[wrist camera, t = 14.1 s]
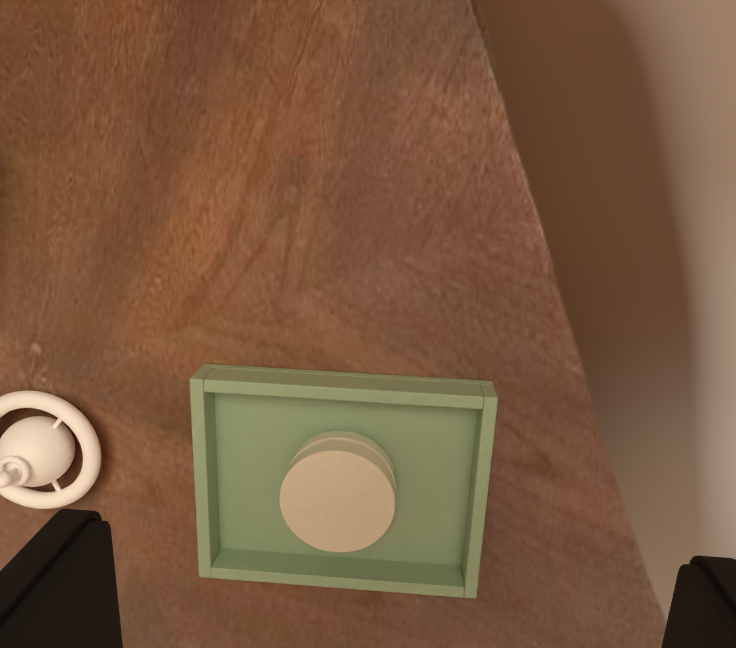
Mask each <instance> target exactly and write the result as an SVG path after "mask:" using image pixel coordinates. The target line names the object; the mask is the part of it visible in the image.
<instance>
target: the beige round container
mask: <svg viewBox="0 0 736 648" xmlns="http://www.w3.org/2000/svg"><path fill="white" fill-rule="evenodd" d="M395 498H396V475H395V470H394V467H393V464H392V462H391V460H390V458H389V457H388V455H387V454H386V453H385V452H384V450H383V449H382V448H381V447H380V446H379V445H377V444H376V443H375V442H373V441H372V440H371V439H369V438H367V437H365V436H363V435H360V434H357V433H353V432H348V431H330V432H325V433H321V434H319V435H316V436H314V437H312V438H310V439H308V440H307V441H306V442H304V443H303V444H302V445H301V446H300V447H299V448H298V449H297V450H296V452H295V453H294V455H293V457H292V458H291V461H290V463H289V466H288V469H287V472H286V474H285V477H284V479H283V482H282V485H281V489H280V496H279V501H280V508H281V512H282V515H283V518H284V520H285V522H286V523H287V525H288V526H289V528H290V529H291V531H292V532H293V533H294V534H295V535H296V536H297V537H299V538H300V539H301V540H302V541H304V542H305V543H307V544H309V545H311V546H313V547H315V548H318V549H320V550H324V551H328V552H339V553H344V552H352V551H357V550H360V549H363V548H365V547H367V546H369V545H371V544H373V543H374V542H376V541H377V540H378V539H379V538H380V537H382V535H383V534H384V533H385V532H386V531H387V529H388V528H389V526H390V524H391V522H392V520H393V516H394V512H395Z"/></svg>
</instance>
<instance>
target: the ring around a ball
mask: <svg viewBox="0 0 736 648" xmlns="http://www.w3.org/2000/svg"><path fill="white" fill-rule="evenodd" d="M19 408H35V409H40V410H43V411H46V412H49V413H51V414H53V415H55V416H56V417H58V419H57V420H56V419H54V418H51V417H46V416H33V417H28V418H25V419H22V420H20V421H18V422H16V423H15V424H13V425H12V426H10V427H9V428H8V429H7V430H6V431H5V432H4V434H3V435H2V437H1V438H0V495H2V496H4V497H5V498H7V499H8V500H11V501H13V502H15V503H17V504H20V505H23V506H26V507H31V508H36V509H51V508H58V507H62V506H66V505H68V504H70V503H73V502H75V501H76V500H78V499H79V498H81V497H82V496H83V495H84V494H86V493H87V492H88V491H89V490H90V488H91V487H92V486H93V484H94V483H95V481H96V479H97V477H98V474H99V470H100V467H101V447H100V443H99V440H98V437H97V435H96V432H95V430H94V428H93V427H92V425H91V424H90V422H89V421H88V419H87V418H86V417H85V416H84V415H83V414H82V413H81V412H80V411H79V410H78V409H77V408H76V407H74V406H73V405H71V404H70V403H69V402H67V401H65V400H63V399H61V398H59V397H57V396H54V395H52V394H49V393H45V392H40V391H28V390H26V391H16V392H12V393H8V394H5V395H3V396H1V397H0V418H1V417H2V416H3V415H4V414H6V413H7V412H9V411H12V410H15V409H19ZM62 421H63V422H64V423H66V424H67V425H68V426H69V427H70V429H71V430H72V431H73V432H74V434H75V435H76V437H77V438H78V441H79V443H80V445H81V449H82V453H83V465H82V469H81V472H80V474H79V476H78V477H77V479H76V480H75V481H74V482H73V483H72V484H71V485H69V486H68V487H66V488H64V489H62V490H61V488H60V486H59V484H58V483H57V481H56V479H58V478H59V477H61V476H62V475H63V474H64V473H65V472H66V471H67V469H68V468H69V467H70V465H71V463H72V461H73V458H74V455H75V441H74V438H73V435H72V433H71V432H70V430H69V429H68V428H67V427H66V426H65V425H64V424H63V423H62ZM49 483H52V484H53V486H54V488H55V490H56V491H53V492H40V491H35V490H31V489H28V488H26V487H37V486H43V485H46V484H49ZM24 486H26V487H24Z"/></svg>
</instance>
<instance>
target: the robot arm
mask: <svg viewBox="0 0 736 648" xmlns="http://www.w3.org/2000/svg"><path fill="white" fill-rule="evenodd" d="M0 648H123V644H122V635H121V625H120V615H119V605H118V595H117V586H116V576H115V566H114V556H113V546H112V536H111V528H110V524H109V523H108V522H107V521H102V519H101V516H100V514H99V513H98V512H96V511H87V510H74V509H62V510H60V511H58V512H57V513H56V514H55V515H54V516H53V517H52V518H51V519H50V520H49V521H48V522H47V523H46V524H45V525H44V526H43V527H42V528H41V529H40V531H39V532H38V533H37V534H36V535H35V536H34V537H33V538H32V539H31V540H30V541H29V542H28V543H27V544H26V545H25V546H24V547H23V548H22V549H21V550H20V551H19V552H18V553H17V554H16V556H15V557H14V558H13V559H12V560H11V561H10V562H9V563H8V564H7V565H6V566H5V567H4V568H3V569H2V570H1V571H0ZM661 648H736V560H735V559H732V558H723V557H709V556H694V557H693V558H692V559H691V560H690V563H689V565H688V564H684V565H682V566H681V567H680V568H679V571H678V575H677V580H676V584H675V589H674V593H673V598H672V603H671V607H670V611H669V616H668V620H667V625H666V629H665V634H664V638H663V643H662V647H661Z"/></svg>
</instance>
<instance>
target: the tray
mask: <svg viewBox="0 0 736 648" xmlns="http://www.w3.org/2000/svg"><path fill="white" fill-rule="evenodd" d="M190 399H191V420H192V440H193V461H194V482H195V502H196V523H197V544H198V564H199V577H205V578H211V577H212V578H218V579H231V580H244V581H257V582H270V583H282V584H295V585H308V586H321V587H333V588H346V589H359V590H372V591H385V592H397V593H410V594H423V595H436V596H449V597H461V598H463V597H465V598H476V596H477V587H478V578H479V569H480V560H481V550H482V541H483V532H484V523H485V514H486V505H487V496H488V487H489V477H490V468H491V459H492V450H493V441H494V432H495V423H496V413H497V404H498V397H497V394H496V391H495V388H494V385H493V383H492V381H485V380H469V379H452V378H435V377H419V376H402V375H386V374H369V373H352V372H336V371H319V370H303V369H286V368H269V367H253V366H236V365H219V364H203V365H202V366H201V367H200V368H199V369H198V370H197V372H196V373H195V374H194V375H193V376H192V377H191V378H190ZM330 431H348V432H353V433H357V434H360V435H363V436H365V437H367V438H369V439H371V440H372V441H373V442H375V443H376V444H377V445H379V446H380V447H381V448H382V449H383V450H384V452H385V453H386V454H387V455H388V457H389V458H390V460H391V462H392V464H393V467H394V470H395V475H396V498H395V512H394V516H393V520H392V522H391V524H390V526H389V528H388V529H387V531H386V532H385V533H384V534H383V535H382V537H380V538H379V539H378V540H377V541H376V542H374V543H373V544H371V545H369V546H367V547H365V548H363V549H360V550H357V551H352V552H344V553H339V552H328V551H324V550H320V549H318V548H315V547H313V546H311V545H309V544H307V543H305V542H304V541H302V540H301V539H300V538H299V537H297V536H296V535H295V534H294V533H293V532H292V531H291V529H290V528H289V526H288V525H287V523H286V522H285V520H284V518H283V515H282V512H281V508H280V501H279V496H280V489H281V485H282V482H283V479H284V477H285V474H286V472H287V469H288V466H289V463H290V461H291V458H292V457H293V455H294V453H295V452H296V450H297V449H298V448H299V447H300V446H301V445H302V444H303V443H304V442H306V441H307V440H308V439H310V438H312V437H314V436H316V435H319V434H321V433H325V432H330Z"/></svg>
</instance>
